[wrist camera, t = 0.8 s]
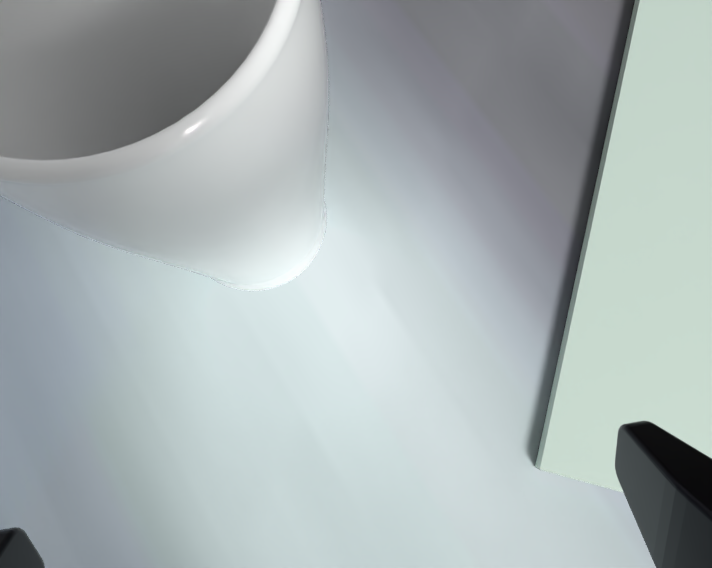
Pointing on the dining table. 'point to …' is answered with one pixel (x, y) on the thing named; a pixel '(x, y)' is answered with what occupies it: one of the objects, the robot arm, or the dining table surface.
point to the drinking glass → (171, 129)
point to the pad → (643, 257)
